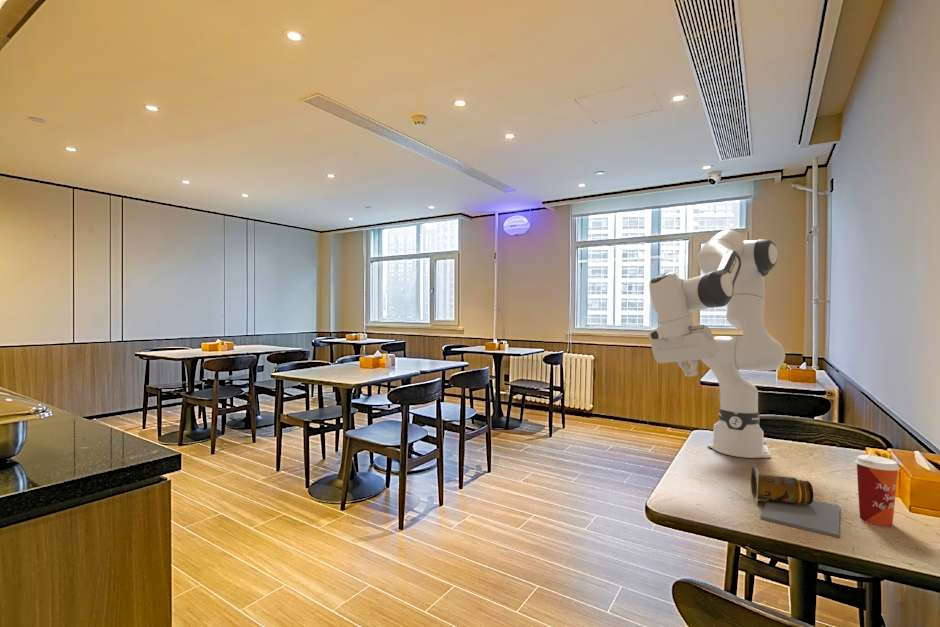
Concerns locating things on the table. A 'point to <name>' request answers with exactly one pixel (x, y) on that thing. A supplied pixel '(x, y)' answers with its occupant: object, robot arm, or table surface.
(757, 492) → the condiment
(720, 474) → the table surface
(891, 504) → the paper cup
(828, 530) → the slate mat
